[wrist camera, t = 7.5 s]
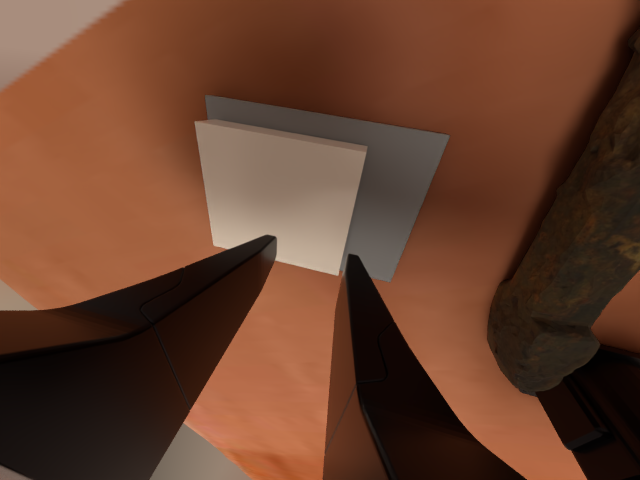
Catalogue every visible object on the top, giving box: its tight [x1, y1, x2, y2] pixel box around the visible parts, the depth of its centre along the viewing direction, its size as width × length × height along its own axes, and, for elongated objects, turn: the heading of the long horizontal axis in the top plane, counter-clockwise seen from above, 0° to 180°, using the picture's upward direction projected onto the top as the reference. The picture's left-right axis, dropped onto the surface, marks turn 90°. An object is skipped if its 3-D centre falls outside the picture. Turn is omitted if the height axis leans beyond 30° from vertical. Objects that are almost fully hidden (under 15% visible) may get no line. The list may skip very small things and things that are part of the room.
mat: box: [205, 95, 450, 282], centre depth 13 cm, size 12×9×1 cm
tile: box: [194, 119, 368, 276], centre depth 13 cm, size 2×7×8 cm
